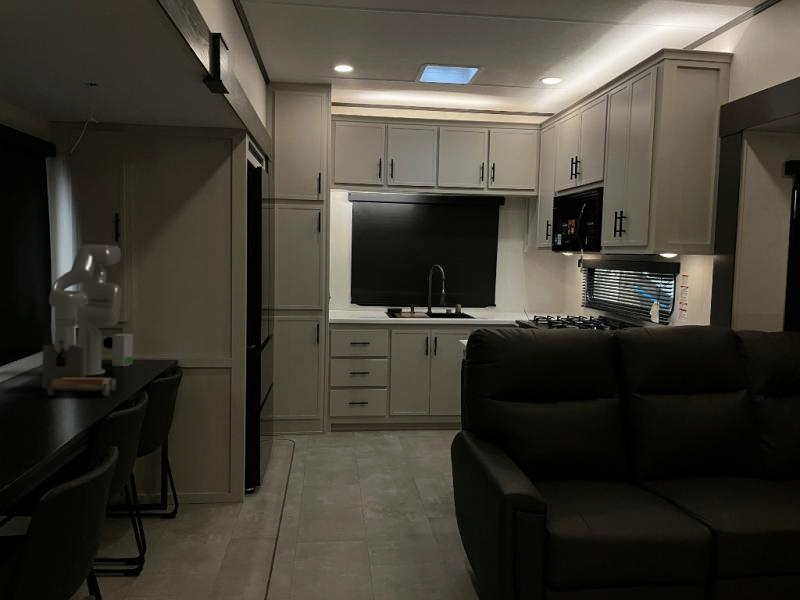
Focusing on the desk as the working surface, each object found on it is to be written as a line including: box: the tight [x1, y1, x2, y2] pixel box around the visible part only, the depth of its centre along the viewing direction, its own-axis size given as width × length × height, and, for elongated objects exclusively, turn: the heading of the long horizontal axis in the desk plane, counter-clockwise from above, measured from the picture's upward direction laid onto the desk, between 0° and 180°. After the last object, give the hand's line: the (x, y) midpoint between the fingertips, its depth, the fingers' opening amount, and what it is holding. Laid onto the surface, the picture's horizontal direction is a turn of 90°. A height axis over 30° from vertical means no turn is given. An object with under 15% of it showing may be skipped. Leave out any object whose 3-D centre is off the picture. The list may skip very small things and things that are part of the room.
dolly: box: [46, 376, 117, 397], centre depth 238 cm, size 14×21×7 cm, turn 102°
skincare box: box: [111, 333, 134, 367], centre depth 298 cm, size 8×7×16 cm
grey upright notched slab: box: [42, 344, 86, 390], centre depth 245 cm, size 16×4×20 cm, turn 102°
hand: (65, 364), depth 245 cm, fingers open, 9 cm apart
